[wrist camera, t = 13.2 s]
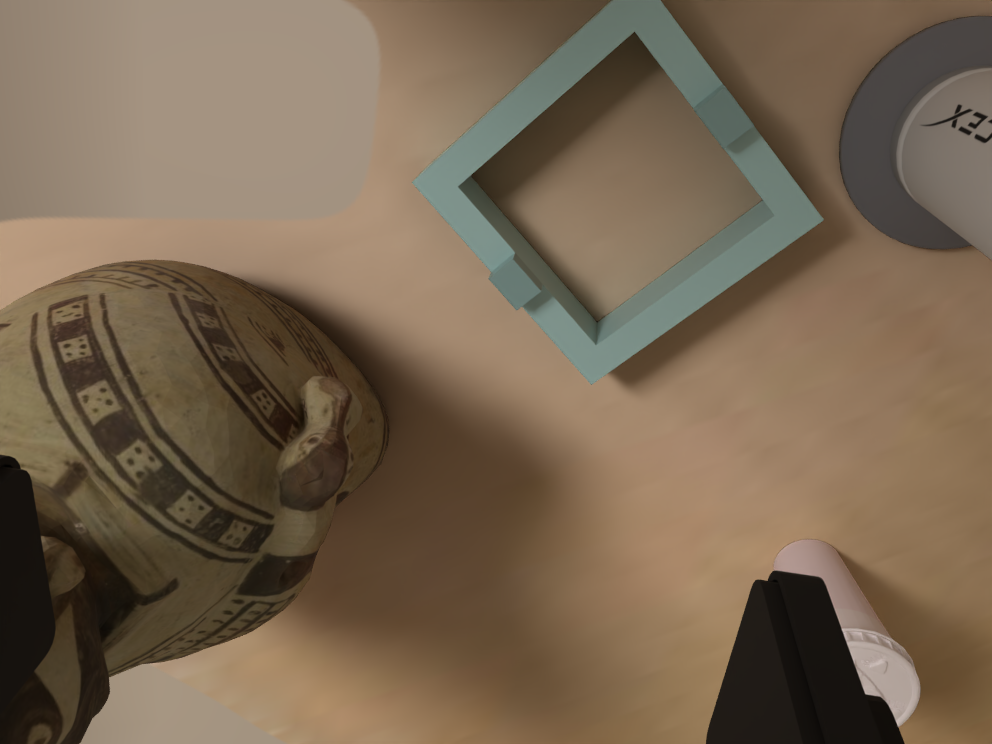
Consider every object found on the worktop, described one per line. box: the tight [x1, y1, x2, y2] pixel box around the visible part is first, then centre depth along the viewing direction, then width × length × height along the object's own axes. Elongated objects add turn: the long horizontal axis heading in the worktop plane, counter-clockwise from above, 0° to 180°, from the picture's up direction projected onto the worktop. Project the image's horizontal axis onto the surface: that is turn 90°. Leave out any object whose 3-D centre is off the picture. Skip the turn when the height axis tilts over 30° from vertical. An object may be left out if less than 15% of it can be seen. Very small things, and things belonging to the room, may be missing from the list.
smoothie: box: [774, 539, 920, 727], centre depth 43 cm, size 6×6×14 cm
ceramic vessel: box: [0, 260, 389, 744], centre depth 35 cm, size 19×21×30 cm
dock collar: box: [412, 0, 824, 385], centre depth 39 cm, size 13×13×4 cm
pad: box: [839, 16, 992, 249], centre depth 38 cm, size 10×10×1 cm
